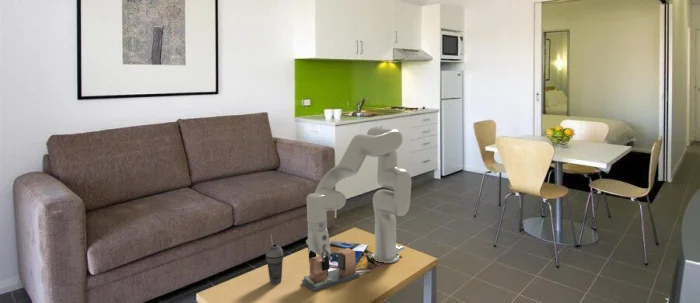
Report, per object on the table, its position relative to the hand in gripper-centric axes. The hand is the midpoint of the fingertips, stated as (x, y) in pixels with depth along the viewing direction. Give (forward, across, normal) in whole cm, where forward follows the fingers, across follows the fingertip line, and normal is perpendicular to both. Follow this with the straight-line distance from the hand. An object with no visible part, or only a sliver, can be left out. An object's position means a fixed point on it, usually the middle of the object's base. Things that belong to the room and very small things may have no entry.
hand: (319, 265), depth 183 cm
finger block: (+6, 0, 0) cm, 6 cm away
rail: (+8, 0, -5) cm, 9 cm away
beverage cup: (+8, +12, +14) cm, 20 cm away
